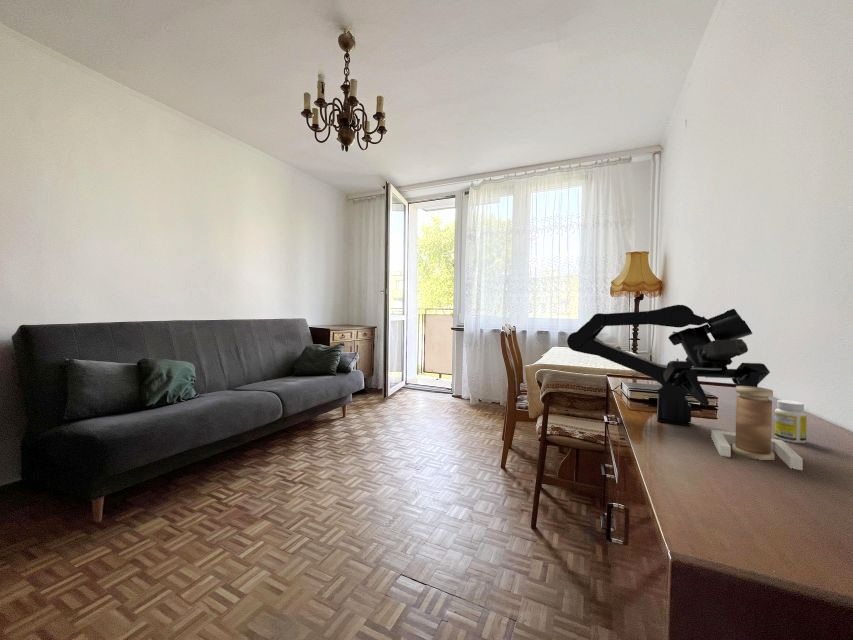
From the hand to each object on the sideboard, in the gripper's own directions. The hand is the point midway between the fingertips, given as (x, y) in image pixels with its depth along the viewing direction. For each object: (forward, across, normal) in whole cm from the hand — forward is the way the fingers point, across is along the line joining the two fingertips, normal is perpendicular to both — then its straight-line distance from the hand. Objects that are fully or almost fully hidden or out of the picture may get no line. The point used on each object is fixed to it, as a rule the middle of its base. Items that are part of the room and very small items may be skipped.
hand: (731, 406), depth 71 cm
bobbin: (+9, 0, +2) cm, 10 cm away
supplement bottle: (+2, +15, +10) cm, 18 cm away
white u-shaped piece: (+9, 0, +2) cm, 10 cm away
